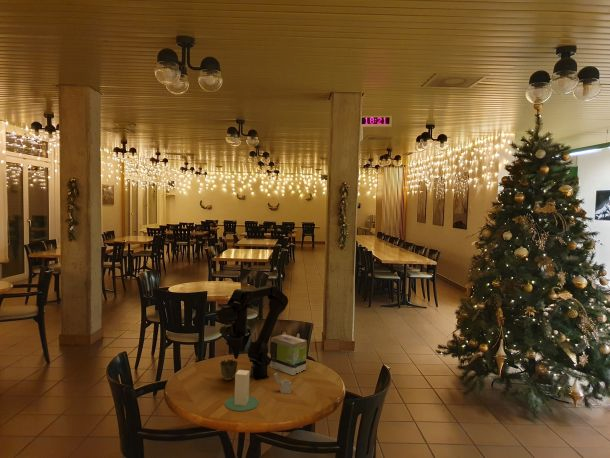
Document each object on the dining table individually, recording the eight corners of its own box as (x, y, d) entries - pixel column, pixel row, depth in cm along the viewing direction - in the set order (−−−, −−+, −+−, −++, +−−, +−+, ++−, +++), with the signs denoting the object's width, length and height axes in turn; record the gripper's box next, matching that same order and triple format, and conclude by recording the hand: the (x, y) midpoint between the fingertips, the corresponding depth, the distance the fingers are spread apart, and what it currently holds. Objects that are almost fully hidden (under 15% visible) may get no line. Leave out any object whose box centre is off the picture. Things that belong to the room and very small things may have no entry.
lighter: (290, 391, 181) (291, 372, 180) (290, 393, 179) (291, 374, 179) (273, 390, 181) (274, 371, 181) (273, 392, 179) (274, 373, 179)
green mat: (250, 394, 177) (251, 393, 177) (263, 407, 166) (263, 406, 166) (220, 399, 170) (220, 398, 170) (231, 414, 159) (231, 413, 159)
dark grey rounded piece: (222, 384, 185) (223, 366, 185) (217, 378, 192) (218, 360, 192) (239, 381, 189) (239, 363, 188) (233, 375, 195) (234, 358, 195)
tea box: (306, 370, 205) (307, 339, 204) (292, 376, 197) (293, 344, 197) (283, 362, 215) (284, 332, 214) (269, 367, 207) (270, 337, 206)
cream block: (237, 399, 170) (238, 369, 170) (248, 400, 170) (249, 370, 169) (234, 404, 166) (235, 374, 166) (245, 405, 165) (246, 375, 165)
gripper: (229, 312, 194) (228, 346, 195) (214, 323, 176) (213, 361, 177) (253, 314, 193) (252, 348, 193) (240, 325, 174) (239, 363, 175)
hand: (239, 355), depth 185 cm, fingers open, 9 cm apart
